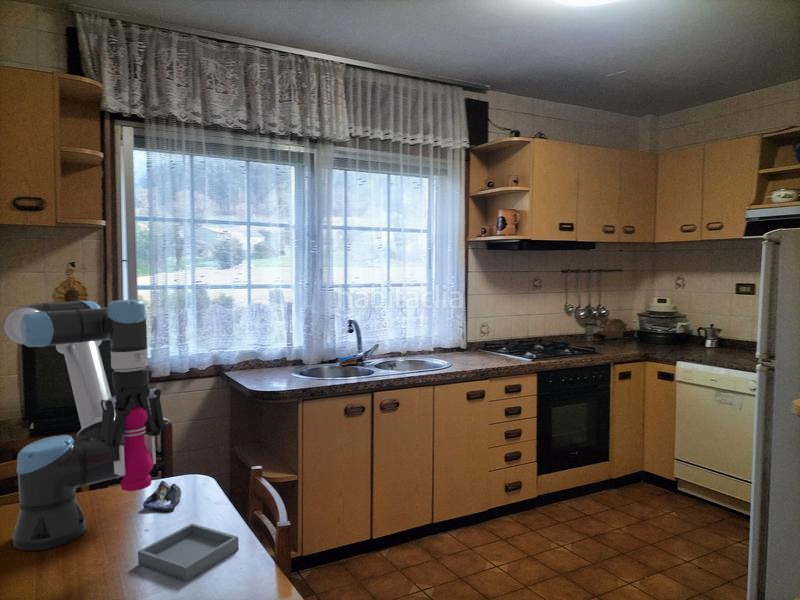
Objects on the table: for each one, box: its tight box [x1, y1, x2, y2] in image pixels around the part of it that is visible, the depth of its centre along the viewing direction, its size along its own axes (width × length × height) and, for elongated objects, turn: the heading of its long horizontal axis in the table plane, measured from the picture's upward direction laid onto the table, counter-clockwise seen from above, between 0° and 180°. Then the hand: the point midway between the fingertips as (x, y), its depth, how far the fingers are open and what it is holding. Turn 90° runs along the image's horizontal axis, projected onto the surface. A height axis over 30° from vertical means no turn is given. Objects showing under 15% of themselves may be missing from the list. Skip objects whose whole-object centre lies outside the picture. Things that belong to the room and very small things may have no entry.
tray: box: [137, 523, 240, 583], centre depth 130 cm, size 15×15×3 cm
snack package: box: [142, 480, 182, 513], centre depth 158 cm, size 12×6×12 cm
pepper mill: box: [120, 407, 154, 492], centre depth 131 cm, size 7×7×20 cm
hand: (135, 468), depth 131 cm, fingers closed on pepper mill, 7 cm apart
